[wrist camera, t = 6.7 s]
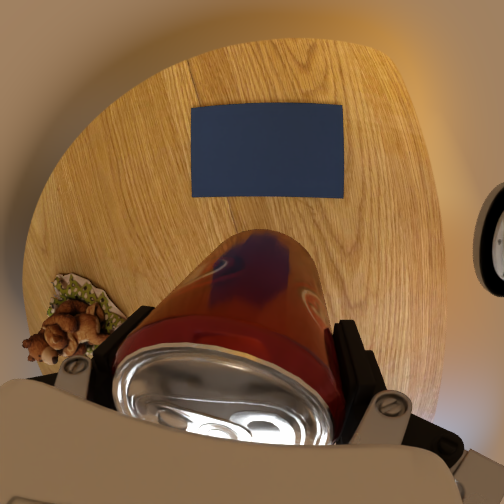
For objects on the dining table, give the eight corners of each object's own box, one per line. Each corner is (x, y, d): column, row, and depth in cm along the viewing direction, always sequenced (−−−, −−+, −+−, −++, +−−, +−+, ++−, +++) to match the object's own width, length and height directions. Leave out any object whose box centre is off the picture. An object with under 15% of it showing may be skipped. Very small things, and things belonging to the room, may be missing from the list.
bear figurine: (123, 369, 38) (85, 417, 26) (56, 326, 38) (13, 360, 26) (133, 303, 34) (80, 351, 22) (57, 258, 34) (0, 286, 22)
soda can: (335, 247, 17) (402, 379, 5) (296, 342, 19) (288, 498, 7) (222, 212, 17) (96, 282, 5) (198, 311, 19) (110, 441, 8)
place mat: (341, 105, 25) (342, 105, 24) (342, 198, 27) (343, 198, 27) (191, 108, 27) (191, 107, 26) (192, 197, 29) (191, 197, 29)
